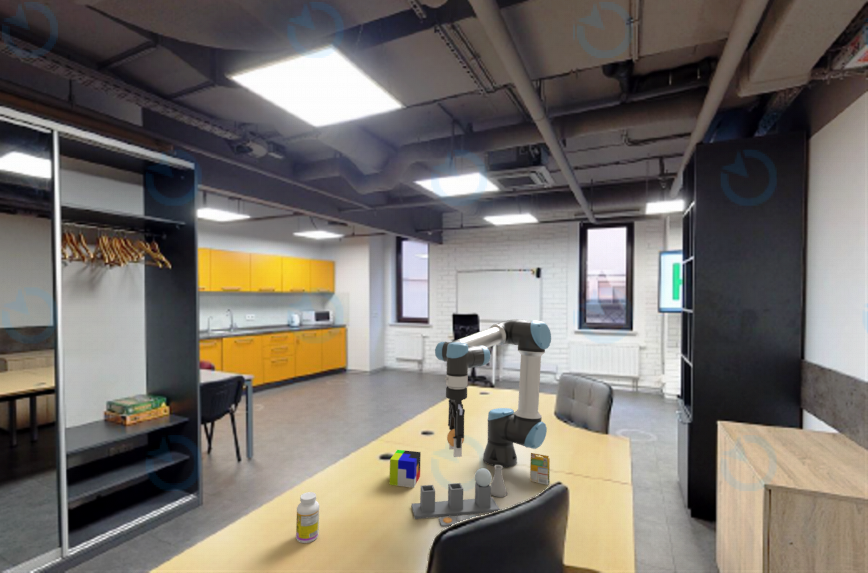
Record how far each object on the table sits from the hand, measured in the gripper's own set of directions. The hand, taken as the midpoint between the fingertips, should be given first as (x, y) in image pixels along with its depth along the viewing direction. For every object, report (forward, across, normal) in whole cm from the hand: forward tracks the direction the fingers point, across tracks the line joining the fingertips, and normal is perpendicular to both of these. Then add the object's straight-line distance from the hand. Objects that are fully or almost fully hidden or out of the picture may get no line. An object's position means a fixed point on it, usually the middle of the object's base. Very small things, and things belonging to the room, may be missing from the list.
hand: (455, 452), depth 142 cm
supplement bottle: (+20, +9, -49) cm, 53 cm away
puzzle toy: (+20, -24, -14) cm, 35 cm away
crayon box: (+20, -15, +40) cm, 47 cm away
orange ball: (-5, 0, 0) cm, 5 cm away
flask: (+20, -9, +20) cm, 29 cm away
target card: (+20, +7, 0) cm, 21 cm away
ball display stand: (+20, 0, 0) cm, 20 cm away
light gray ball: (+9, 0, +10) cm, 14 cm away
